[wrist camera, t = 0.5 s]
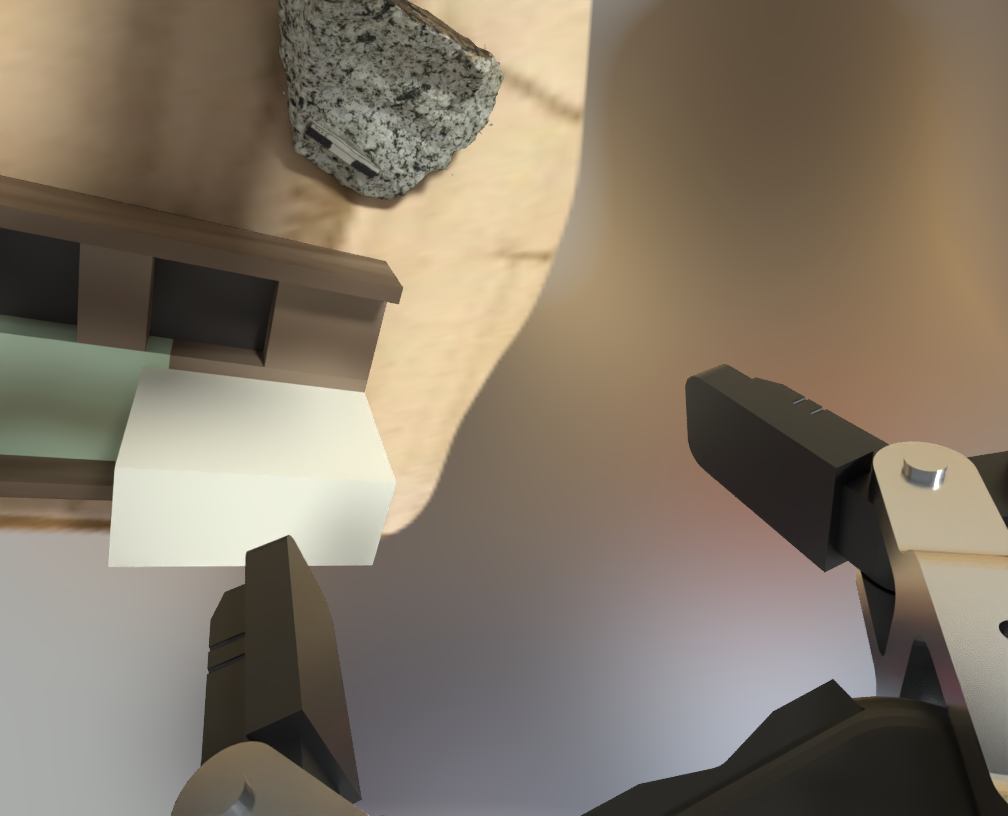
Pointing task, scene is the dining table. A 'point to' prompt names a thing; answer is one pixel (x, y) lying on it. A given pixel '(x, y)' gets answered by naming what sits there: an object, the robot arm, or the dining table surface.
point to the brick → (246, 472)
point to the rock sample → (381, 90)
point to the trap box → (154, 323)
